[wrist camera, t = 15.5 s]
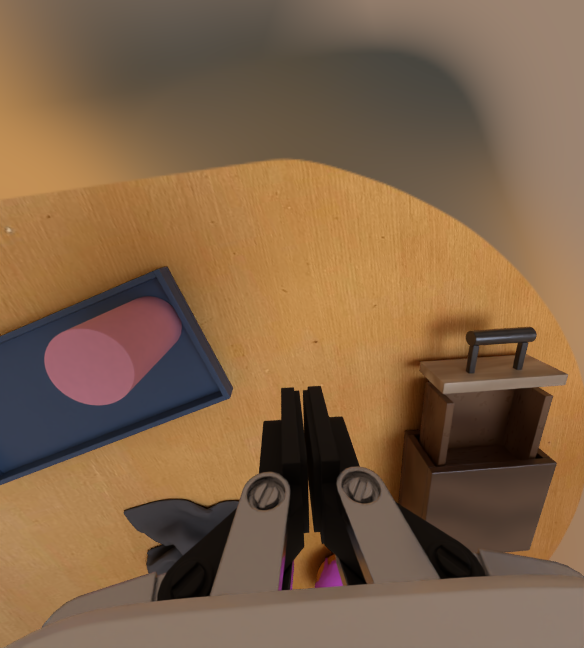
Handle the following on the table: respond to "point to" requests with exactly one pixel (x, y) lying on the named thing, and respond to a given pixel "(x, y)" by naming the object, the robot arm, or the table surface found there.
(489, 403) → the drawer
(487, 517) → the cabinet
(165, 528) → the cloth
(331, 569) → the donut
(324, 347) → the table surface
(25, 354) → the tray
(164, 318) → the cylinder
